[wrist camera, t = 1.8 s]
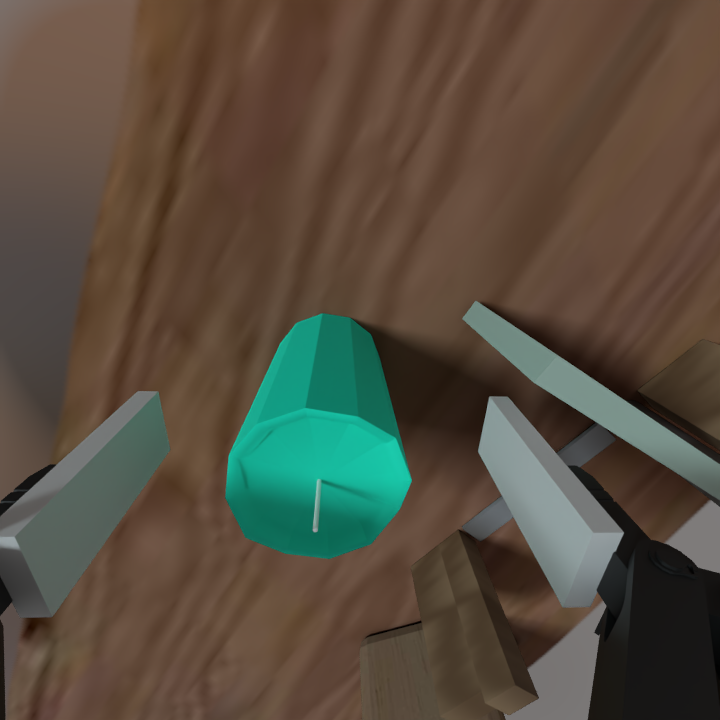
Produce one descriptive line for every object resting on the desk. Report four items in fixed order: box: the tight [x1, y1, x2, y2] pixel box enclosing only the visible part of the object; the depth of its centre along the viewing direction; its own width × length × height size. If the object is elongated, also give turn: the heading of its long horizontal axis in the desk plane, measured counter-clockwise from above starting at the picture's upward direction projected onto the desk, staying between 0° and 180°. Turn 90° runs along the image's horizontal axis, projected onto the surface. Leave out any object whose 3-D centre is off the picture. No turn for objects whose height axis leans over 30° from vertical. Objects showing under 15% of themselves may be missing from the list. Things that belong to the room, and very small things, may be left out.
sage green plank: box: [462, 301, 720, 500], centre depth 18 cm, size 12×1×8 cm, turn 58°
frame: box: [411, 339, 720, 720], centre depth 21 cm, size 25×2×10 cm, turn 138°
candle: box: [225, 313, 412, 559], centre depth 16 cm, size 6×6×12 cm
